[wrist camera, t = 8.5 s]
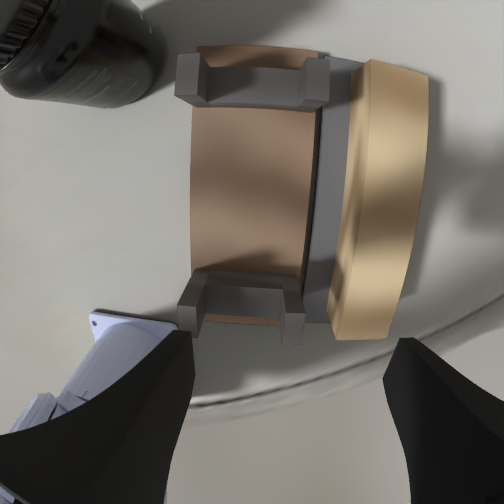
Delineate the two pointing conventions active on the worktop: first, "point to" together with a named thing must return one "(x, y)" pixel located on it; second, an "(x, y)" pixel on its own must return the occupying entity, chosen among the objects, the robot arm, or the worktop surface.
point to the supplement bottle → (78, 51)
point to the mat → (328, 190)
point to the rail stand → (249, 182)
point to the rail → (378, 198)
